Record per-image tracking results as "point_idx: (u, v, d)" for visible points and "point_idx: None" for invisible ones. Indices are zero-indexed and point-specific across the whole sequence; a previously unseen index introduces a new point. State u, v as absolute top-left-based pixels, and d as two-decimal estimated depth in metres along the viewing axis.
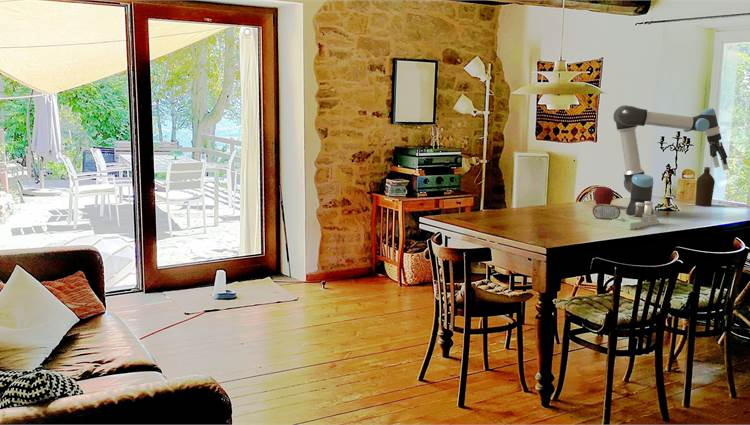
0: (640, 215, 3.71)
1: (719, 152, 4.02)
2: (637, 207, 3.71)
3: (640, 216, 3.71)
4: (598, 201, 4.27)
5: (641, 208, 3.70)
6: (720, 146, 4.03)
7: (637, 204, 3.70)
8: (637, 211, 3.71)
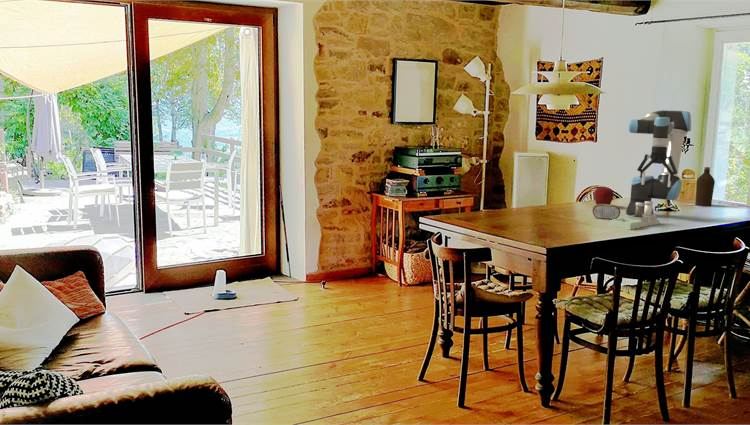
0: (640, 215, 3.71)
1: None
2: (637, 207, 3.71)
3: (640, 216, 3.71)
4: (598, 201, 4.27)
5: (641, 208, 3.70)
6: (651, 160, 3.65)
7: (637, 204, 3.70)
8: (637, 211, 3.71)
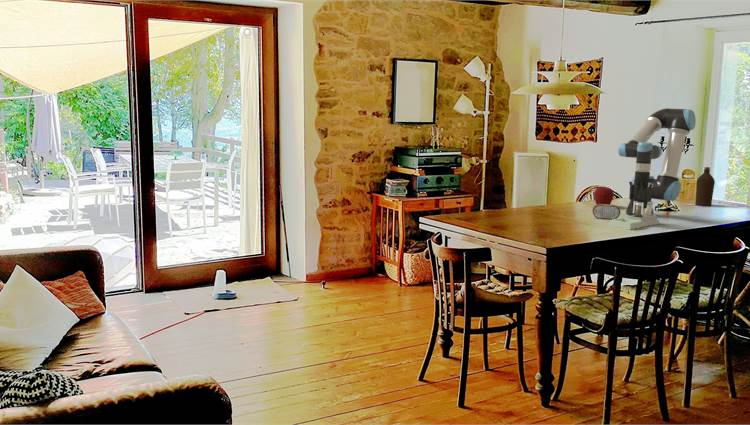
0: (640, 215, 3.71)
1: None
2: (637, 207, 3.71)
3: (640, 216, 3.71)
4: (598, 201, 4.27)
5: None
6: (636, 186, 3.71)
7: (637, 204, 3.70)
8: (637, 211, 3.71)
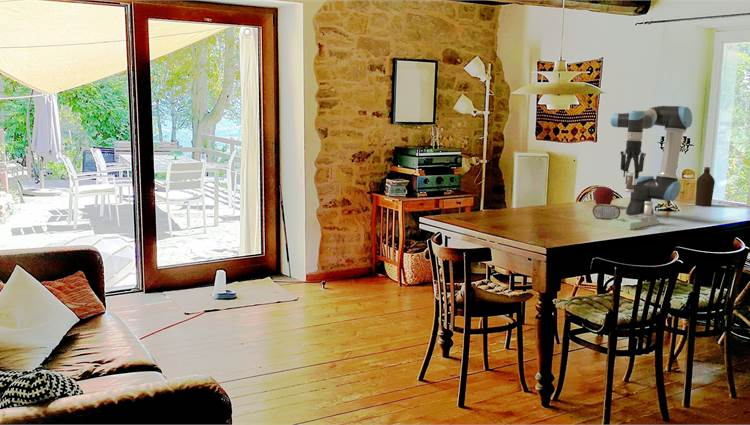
0: (631, 185, 3.61)
1: None
2: (628, 177, 3.61)
3: (631, 187, 3.61)
4: (598, 201, 4.27)
5: (632, 178, 3.60)
6: None
7: (628, 174, 3.61)
8: (628, 181, 3.61)
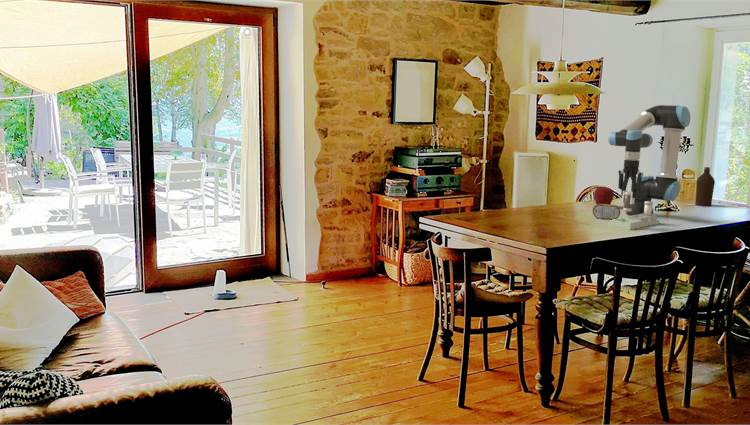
0: (629, 205, 3.63)
1: None
2: (626, 196, 3.63)
3: (629, 206, 3.63)
4: (598, 201, 4.27)
5: (630, 197, 3.62)
6: (625, 175, 3.63)
7: (626, 193, 3.62)
8: (626, 200, 3.63)
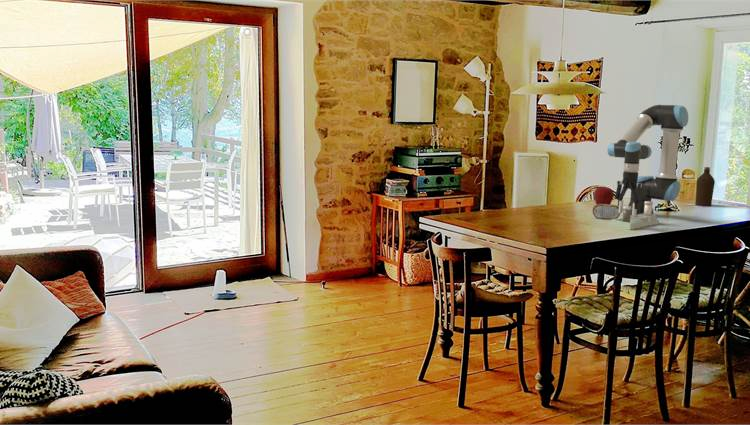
0: (628, 219, 3.64)
1: None
2: (625, 211, 3.64)
3: (628, 220, 3.64)
4: (598, 201, 4.27)
5: (629, 212, 3.63)
6: (623, 186, 3.64)
7: (624, 208, 3.64)
8: (625, 215, 3.64)
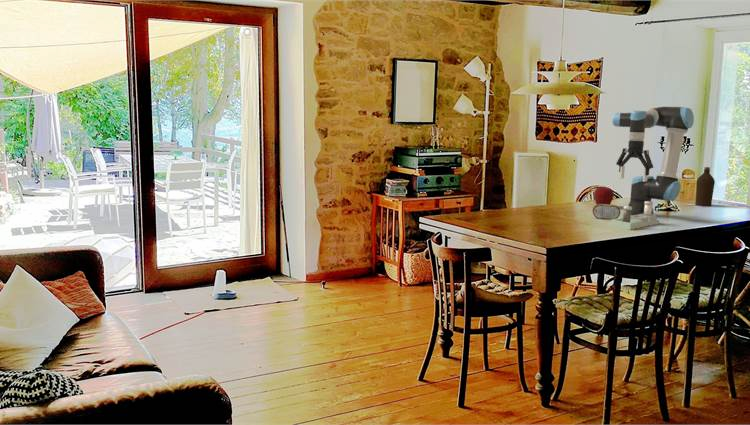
0: (628, 219, 3.64)
1: None
2: (625, 211, 3.64)
3: (628, 220, 3.64)
4: (598, 201, 4.27)
5: (629, 212, 3.63)
6: (628, 154, 3.64)
7: (625, 208, 3.64)
8: (625, 215, 3.64)
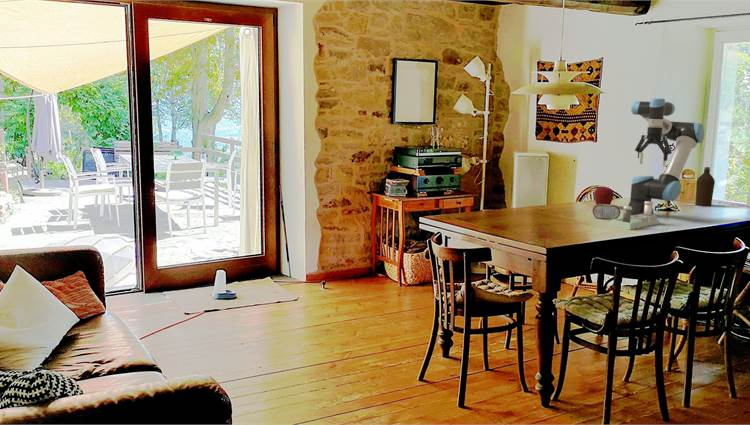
0: (628, 219, 3.64)
1: None
2: (625, 211, 3.64)
3: (628, 220, 3.64)
4: (598, 201, 4.27)
5: (629, 212, 3.63)
6: (647, 140, 3.76)
7: (625, 208, 3.64)
8: (625, 215, 3.64)
